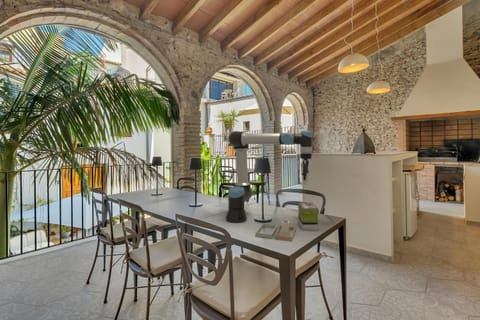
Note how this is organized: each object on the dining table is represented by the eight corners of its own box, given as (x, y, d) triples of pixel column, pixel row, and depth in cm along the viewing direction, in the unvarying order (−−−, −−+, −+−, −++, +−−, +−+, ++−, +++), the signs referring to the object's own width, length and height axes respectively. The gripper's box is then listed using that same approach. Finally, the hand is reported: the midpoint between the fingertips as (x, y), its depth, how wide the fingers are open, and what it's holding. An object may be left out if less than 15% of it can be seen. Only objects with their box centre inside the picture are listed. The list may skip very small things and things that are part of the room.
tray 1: (255, 236, 146) (255, 232, 146) (262, 226, 163) (262, 223, 163) (271, 238, 143) (271, 234, 142) (277, 228, 160) (277, 224, 159)
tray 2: (274, 239, 142) (274, 234, 142) (279, 228, 159) (279, 225, 159) (291, 241, 139) (291, 236, 139) (295, 230, 156) (295, 226, 155)
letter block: (281, 235, 148) (281, 222, 147) (282, 233, 151) (282, 220, 151) (288, 236, 146) (288, 222, 146) (289, 234, 150) (289, 220, 150)
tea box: (297, 222, 171) (297, 202, 171) (312, 222, 171) (312, 202, 170) (302, 230, 156) (302, 207, 156) (318, 230, 156) (318, 207, 155)
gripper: (310, 153, 157) (309, 186, 159) (312, 152, 181) (311, 181, 182) (298, 153, 159) (298, 185, 161) (301, 152, 183) (301, 180, 184)
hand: (305, 183), depth 171 cm, fingers open, 13 cm apart
